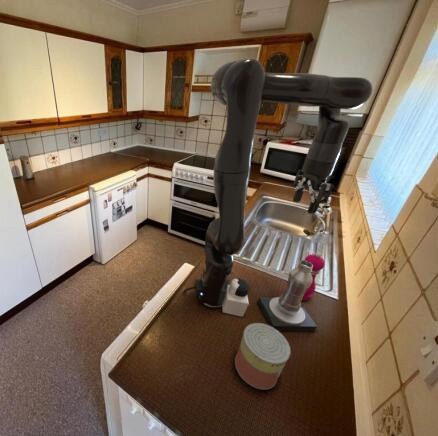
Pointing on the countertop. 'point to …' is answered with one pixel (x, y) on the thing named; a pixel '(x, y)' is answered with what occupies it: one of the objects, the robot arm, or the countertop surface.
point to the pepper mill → (313, 272)
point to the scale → (285, 316)
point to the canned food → (261, 355)
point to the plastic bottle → (296, 288)
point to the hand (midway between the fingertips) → (303, 207)
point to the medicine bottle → (236, 298)
